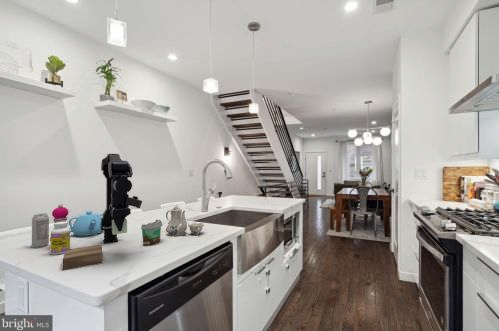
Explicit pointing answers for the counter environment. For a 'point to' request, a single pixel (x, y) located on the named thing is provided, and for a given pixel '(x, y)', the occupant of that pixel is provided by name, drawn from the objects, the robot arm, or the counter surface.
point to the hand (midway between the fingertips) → (119, 229)
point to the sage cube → (115, 230)
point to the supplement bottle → (60, 238)
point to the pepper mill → (60, 214)
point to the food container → (151, 233)
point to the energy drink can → (40, 230)
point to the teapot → (86, 224)
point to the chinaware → (180, 223)
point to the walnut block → (82, 257)
